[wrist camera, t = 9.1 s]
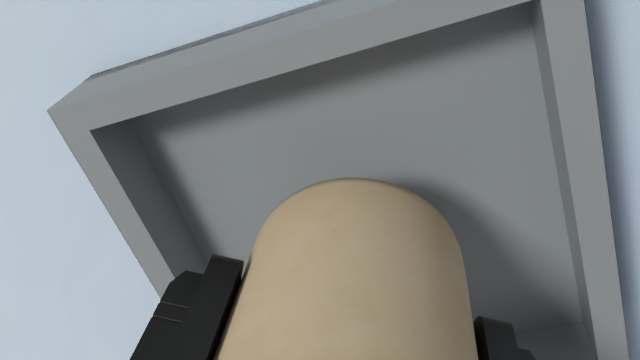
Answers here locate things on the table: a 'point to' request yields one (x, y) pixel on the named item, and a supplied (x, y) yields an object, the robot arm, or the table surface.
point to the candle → (352, 280)
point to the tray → (375, 147)
